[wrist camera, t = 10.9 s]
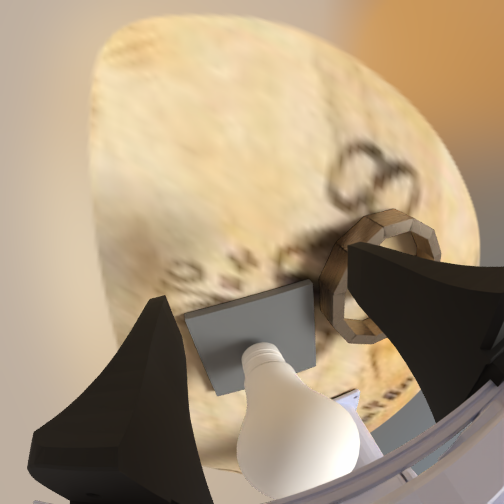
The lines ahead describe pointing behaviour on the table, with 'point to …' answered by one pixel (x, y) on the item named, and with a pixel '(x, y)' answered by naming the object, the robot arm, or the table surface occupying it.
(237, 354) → the mat
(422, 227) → the collar
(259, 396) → the lightbulb
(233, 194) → the table surface
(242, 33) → the table surface
